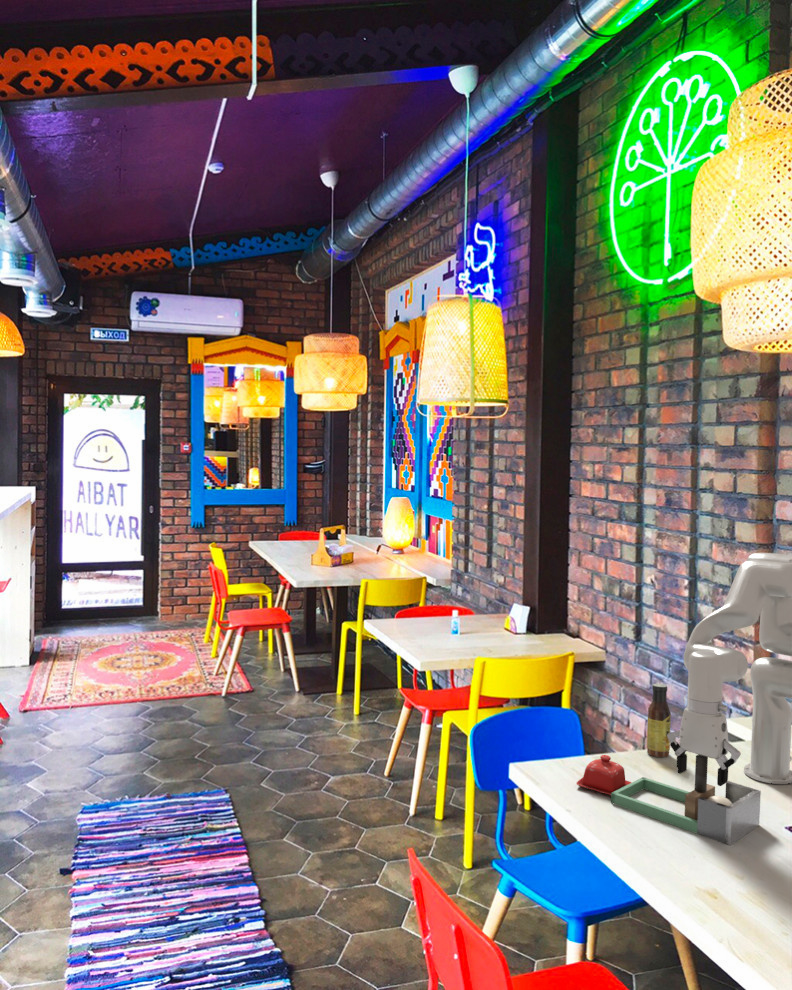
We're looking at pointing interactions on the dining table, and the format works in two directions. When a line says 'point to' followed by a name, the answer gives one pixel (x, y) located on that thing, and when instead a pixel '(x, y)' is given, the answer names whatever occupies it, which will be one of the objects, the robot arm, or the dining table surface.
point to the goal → (729, 814)
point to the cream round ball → (720, 800)
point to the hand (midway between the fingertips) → (701, 778)
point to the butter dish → (603, 776)
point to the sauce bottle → (658, 723)
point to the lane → (625, 801)
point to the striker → (698, 788)
